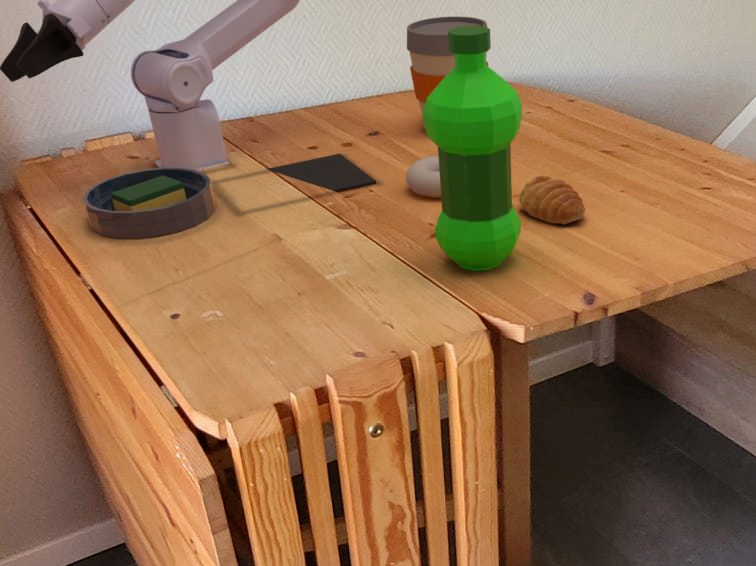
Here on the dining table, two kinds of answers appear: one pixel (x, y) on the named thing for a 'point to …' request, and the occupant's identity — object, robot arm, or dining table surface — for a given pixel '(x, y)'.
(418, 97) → the reusable coffee cup
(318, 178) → the drying mat
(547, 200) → the pastry
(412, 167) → the donut
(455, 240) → the plastic bottle
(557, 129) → the dining table surface
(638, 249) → the dining table surface
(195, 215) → the bowl
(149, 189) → the sponge
